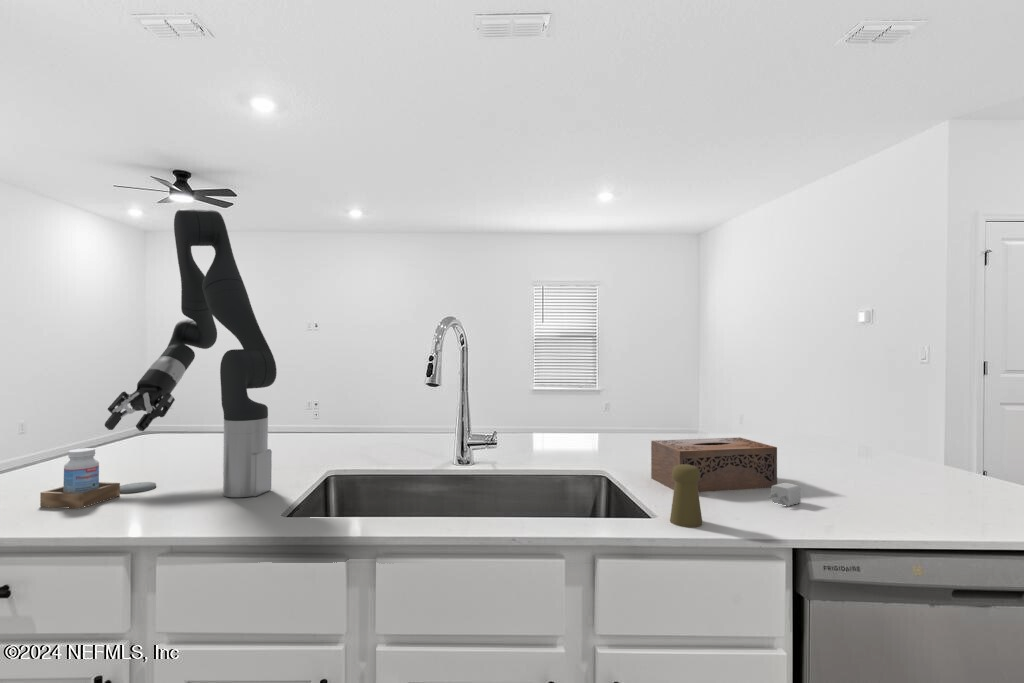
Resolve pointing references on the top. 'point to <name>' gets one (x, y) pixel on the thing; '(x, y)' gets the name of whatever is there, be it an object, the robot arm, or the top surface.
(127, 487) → the slate coaster
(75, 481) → the pill bottle
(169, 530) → the top surface
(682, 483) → the cork
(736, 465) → the tissue box cover
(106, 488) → the wooden tray
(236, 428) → the robot arm
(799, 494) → the usb wall charger
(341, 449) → the top surface
